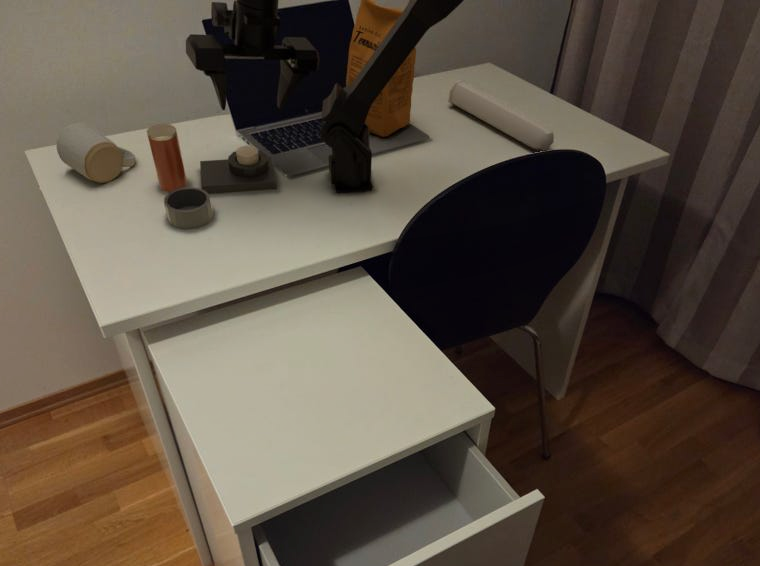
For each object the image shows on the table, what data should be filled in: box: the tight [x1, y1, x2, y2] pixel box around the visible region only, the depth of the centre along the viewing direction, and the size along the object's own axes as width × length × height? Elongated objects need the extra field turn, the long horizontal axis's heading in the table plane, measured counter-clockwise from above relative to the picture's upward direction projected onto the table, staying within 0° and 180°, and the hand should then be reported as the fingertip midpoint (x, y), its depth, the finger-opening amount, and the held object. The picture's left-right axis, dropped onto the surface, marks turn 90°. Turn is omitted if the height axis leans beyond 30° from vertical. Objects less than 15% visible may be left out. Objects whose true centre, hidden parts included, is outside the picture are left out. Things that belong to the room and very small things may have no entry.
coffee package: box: [345, 0, 417, 138], centre depth 118 cm, size 10×12×22 cm
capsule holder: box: [163, 186, 214, 230], centre depth 99 cm, size 7×7×4 cm
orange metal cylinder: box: [146, 123, 188, 193], centre depth 103 cm, size 4×4×10 cm
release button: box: [235, 145, 259, 165], centre depth 107 cm, size 4×4×2 cm
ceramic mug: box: [56, 122, 136, 184], centre depth 105 cm, size 11×8×8 cm
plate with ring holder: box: [199, 149, 277, 195], centre depth 107 cm, size 12×8×4 cm
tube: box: [448, 79, 555, 152], centre depth 126 cm, size 5×5×25 cm
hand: (251, 108), depth 100 cm, fingers open, 9 cm apart
